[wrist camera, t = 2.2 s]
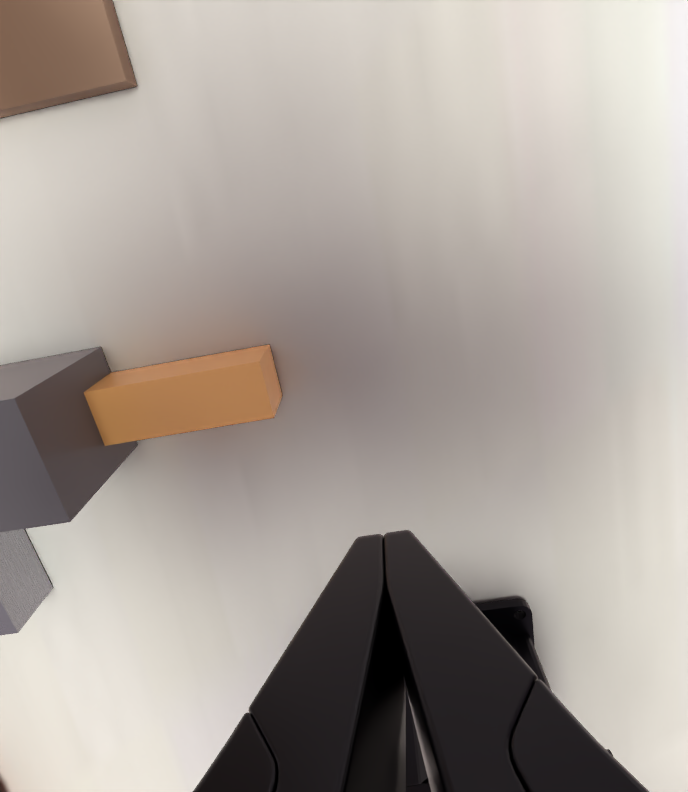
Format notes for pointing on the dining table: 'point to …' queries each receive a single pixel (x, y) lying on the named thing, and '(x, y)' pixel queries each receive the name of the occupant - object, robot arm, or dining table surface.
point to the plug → (110, 420)
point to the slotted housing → (19, 581)
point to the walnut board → (59, 53)
